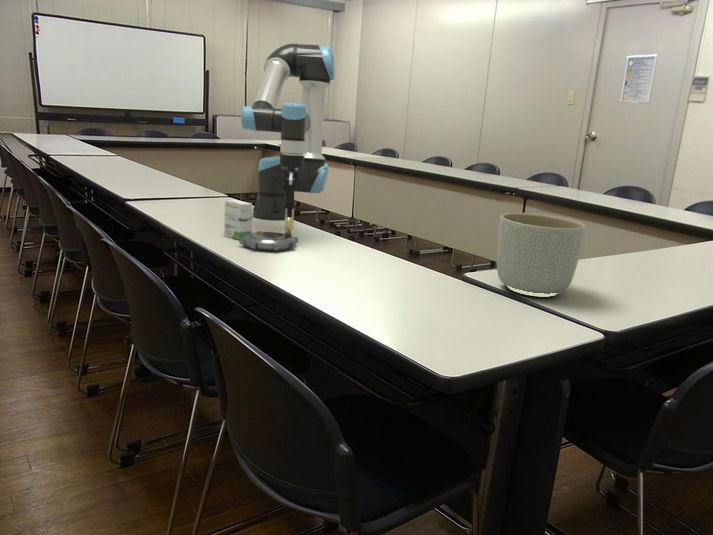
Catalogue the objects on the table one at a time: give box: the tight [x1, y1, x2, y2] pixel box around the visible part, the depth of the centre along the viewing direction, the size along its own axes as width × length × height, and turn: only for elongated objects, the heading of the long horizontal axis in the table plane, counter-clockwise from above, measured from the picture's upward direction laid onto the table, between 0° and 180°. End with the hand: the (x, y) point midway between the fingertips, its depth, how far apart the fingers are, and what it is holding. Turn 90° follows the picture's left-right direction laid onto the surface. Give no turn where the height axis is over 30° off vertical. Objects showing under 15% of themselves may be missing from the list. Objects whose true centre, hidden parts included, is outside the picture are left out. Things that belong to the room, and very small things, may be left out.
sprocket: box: [238, 217, 299, 251], centre depth 177 cm, size 18×18×8 cm
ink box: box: [223, 199, 253, 241], centre depth 185 cm, size 9×5×12 cm, turn 49°
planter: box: [496, 212, 587, 294], centre depth 148 cm, size 21×21×19 cm
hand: (288, 228), depth 186 cm, fingers closed
